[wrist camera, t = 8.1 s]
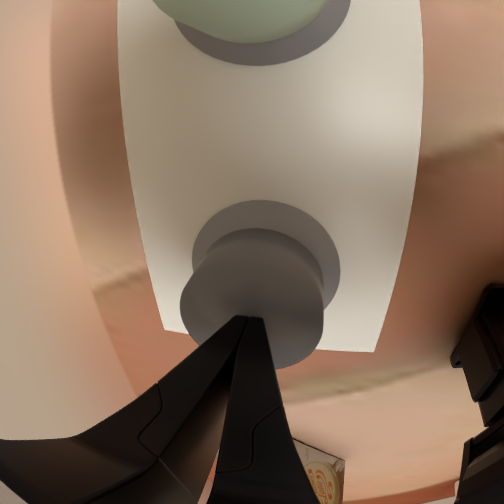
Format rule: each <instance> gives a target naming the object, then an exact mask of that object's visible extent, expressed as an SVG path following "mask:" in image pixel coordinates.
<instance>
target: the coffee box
mask: <svg viewBox="0 0 504 504" xmlns="http://www.w3.org/2000/svg"><path fill="white" fill-rule="evenodd" d="M293 441H294V444H295V447H296V449H297V452H298V454H299V456H300V459H301V461H302V464H303V466H304V468H305V471H306V473H307V475H308V478H309V480H310V482H311V484H312V487H313V489H314V491H315V493H316V495H317V497H318V499H319V501H320V502H321V504H342V499H343V485H344V469H345V461H344V460H341V459H338V458H336V457H333V456H331V455H328V454H326V453H323V452H321V451H318V450H316V449H314V448H311V447H309V446H307V445H304V444H302V443H300V442H298V441H296V440H294V439H293Z"/></svg>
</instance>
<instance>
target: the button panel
mask: <svg viewBox="0 0 504 504" xmlns="http://www.w3.org/2000/svg"><path fill="white" fill-rule="evenodd" d="M117 40H118V67H119V84H120V97H121V108H122V119H123V128H124V136H125V144H126V152H127V159H128V166H129V173H130V179H131V185H132V191H133V197H134V203H135V208H136V214H137V219H138V224H139V229H140V234H141V238H142V243H143V248H144V252H145V257H146V261H147V265H148V270H149V274H150V278H151V282H152V286H153V290H154V294H155V297H156V301H157V305H158V309H159V312H160V316H161V319H162V323H163V326H164V330H169V331H175V332H180V333H186V334H189V333H188V331H187V330H186V328H185V326H184V324H183V321H182V318H181V314H180V298H181V294H182V291H183V289H184V287H185V285H186V284H187V282H188V281H189V279H190V277H191V276H192V274H193V273H194V271H195V269H196V268H197V266H198V265H199V263H200V261H201V260H202V258H203V257H204V255H205V254H206V252H207V250H208V249H209V248H210V246H211V245H212V244H213V243H214V242H216V241H217V240H218V239H219V238H221V237H223V236H224V235H226V234H228V233H231V232H233V231H237V230H241V229H248V228H262V229H270V230H274V231H278V232H280V233H283V234H286V235H288V236H290V237H292V238H294V239H295V240H297V241H298V242H300V243H301V244H302V245H304V246H305V247H306V248H307V249H308V250H309V251H310V252H311V253H312V255H313V256H314V257H315V259H316V260H317V262H318V264H319V266H320V268H321V271H322V274H323V280H324V325H323V333H322V337H321V340H320V342H319V344H318V345H317V347H316V348H315V349H321V350H337V351H357V352H374V349H375V347H376V344H377V341H378V338H379V335H380V332H381V329H382V325H383V322H384V319H385V316H386V313H387V309H388V306H389V302H390V299H391V295H392V292H393V288H394V284H395V281H396V277H397V273H398V269H399V265H400V261H401V256H402V252H403V247H404V243H405V238H406V233H407V228H408V223H409V218H410V212H411V207H412V201H413V195H414V188H415V181H416V174H417V166H418V157H419V148H420V137H421V125H422V108H423V39H422V23H421V11H420V2H419V0H328V2H327V3H326V5H325V7H324V9H323V10H322V11H321V12H320V14H319V15H318V16H317V17H316V18H315V19H314V20H313V21H312V22H311V23H309V24H308V25H307V26H305V27H304V28H302V29H300V30H299V31H297V32H295V33H293V34H291V35H289V36H286V37H283V38H280V39H277V40H273V41H268V42H263V43H234V42H229V41H224V40H221V39H218V38H215V37H213V36H210V35H208V34H206V33H204V32H202V31H199V30H197V29H195V28H193V27H190V26H188V25H186V24H183V23H181V22H178V21H176V20H174V19H173V18H171V17H169V16H168V15H166V14H165V13H164V12H163V11H161V10H160V9H159V8H158V7H157V5H156V4H155V3H154V2H153V0H118V5H117Z"/></svg>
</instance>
